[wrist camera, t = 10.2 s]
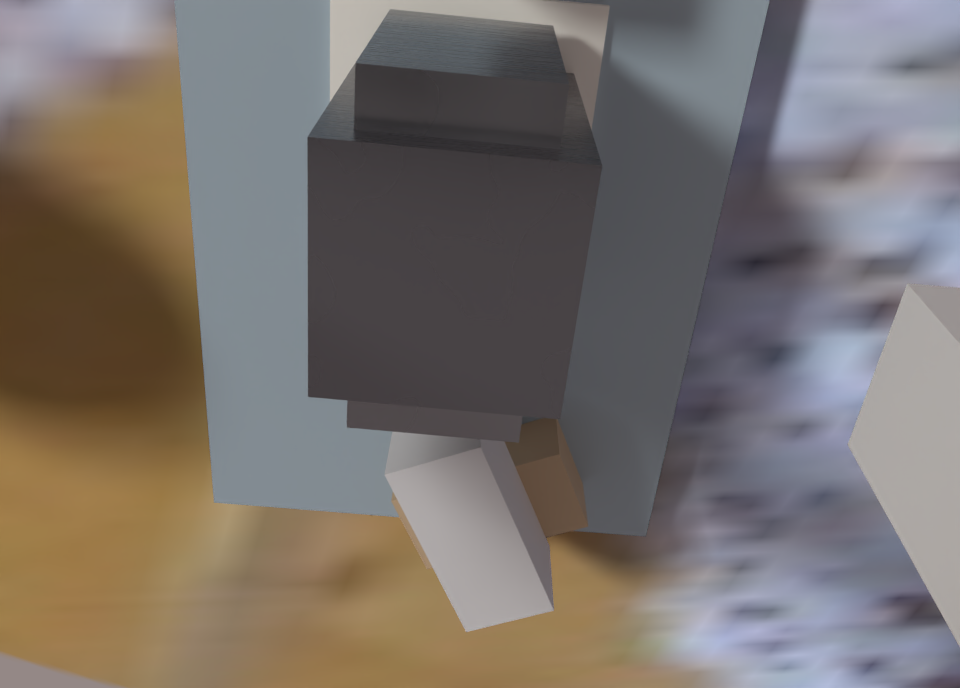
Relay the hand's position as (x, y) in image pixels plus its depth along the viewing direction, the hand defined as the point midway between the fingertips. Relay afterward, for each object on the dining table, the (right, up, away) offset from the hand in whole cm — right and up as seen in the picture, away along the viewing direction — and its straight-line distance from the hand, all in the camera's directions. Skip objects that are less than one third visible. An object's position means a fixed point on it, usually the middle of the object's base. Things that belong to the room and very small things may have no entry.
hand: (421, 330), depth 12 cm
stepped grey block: (0, +4, +7) cm, 8 cm away
